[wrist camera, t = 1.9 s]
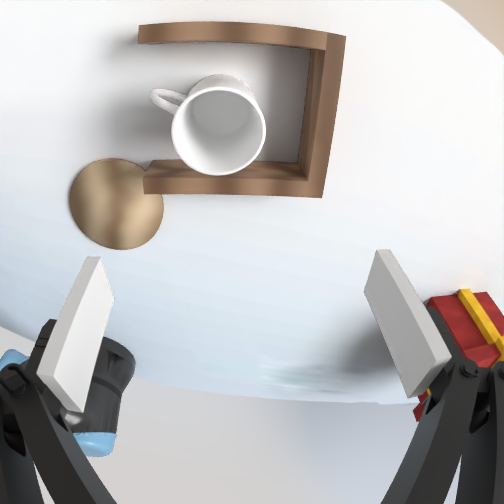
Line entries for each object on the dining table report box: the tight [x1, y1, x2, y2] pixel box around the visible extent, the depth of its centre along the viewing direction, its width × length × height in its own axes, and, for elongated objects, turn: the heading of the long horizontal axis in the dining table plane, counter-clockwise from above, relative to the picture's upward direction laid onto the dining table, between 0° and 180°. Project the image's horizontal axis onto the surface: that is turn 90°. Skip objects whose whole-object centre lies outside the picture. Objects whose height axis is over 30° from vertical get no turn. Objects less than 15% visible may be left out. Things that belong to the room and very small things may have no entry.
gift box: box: [413, 289, 504, 422], centre depth 56 cm, size 25×25×20 cm
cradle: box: [138, 22, 346, 198], centre depth 32 cm, size 20×19×6 cm
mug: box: [149, 75, 266, 175], centre depth 30 cm, size 12×8×12 cm
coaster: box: [70, 158, 163, 250], centre depth 41 cm, size 14×14×1 cm
